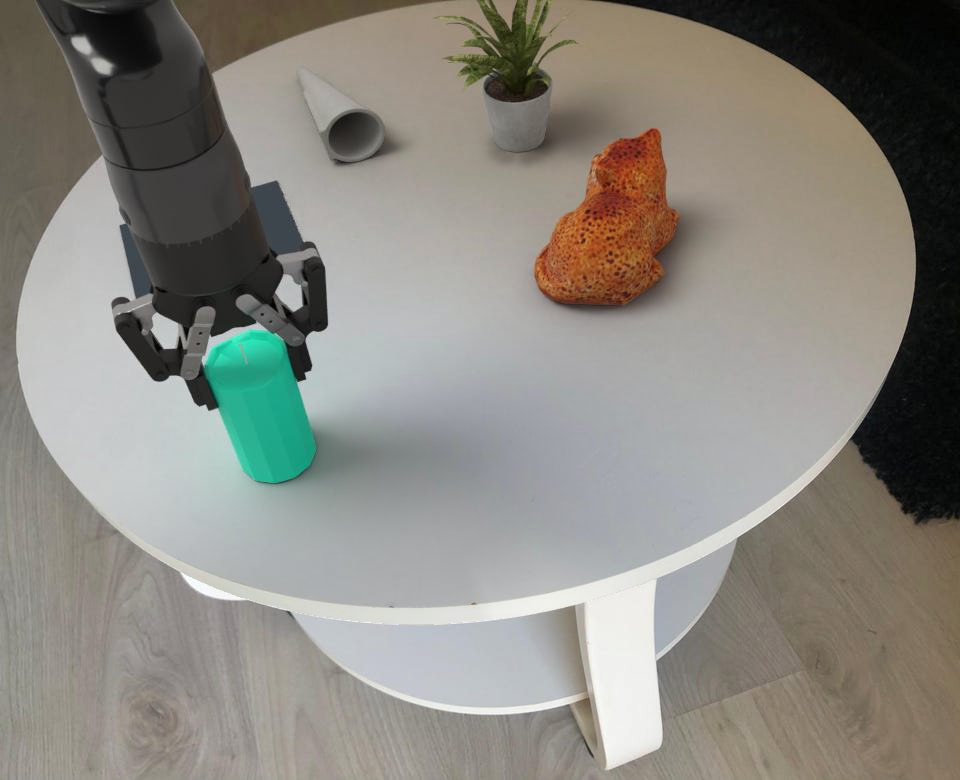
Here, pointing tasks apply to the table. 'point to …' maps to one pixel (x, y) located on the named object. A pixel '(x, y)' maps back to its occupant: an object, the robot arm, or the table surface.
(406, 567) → the table surface
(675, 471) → the table surface
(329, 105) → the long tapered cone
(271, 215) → the mat
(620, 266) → the figurine
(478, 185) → the table surface
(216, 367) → the candle
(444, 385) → the table surface
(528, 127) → the house plant
